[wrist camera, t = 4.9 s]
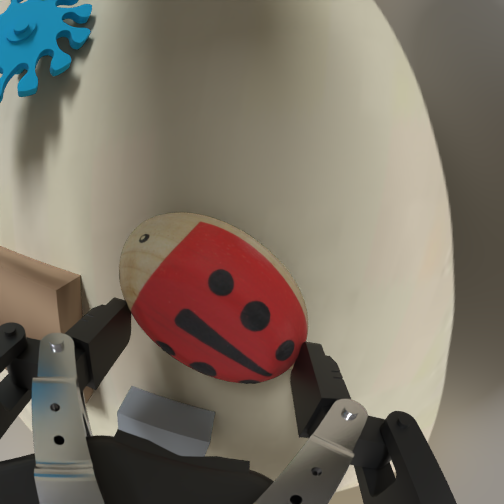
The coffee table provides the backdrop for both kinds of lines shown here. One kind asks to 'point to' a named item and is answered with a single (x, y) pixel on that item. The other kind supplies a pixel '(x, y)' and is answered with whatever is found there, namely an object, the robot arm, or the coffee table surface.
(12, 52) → the gear
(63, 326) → the walnut block
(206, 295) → the ladybug figurine
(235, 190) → the coffee table surface
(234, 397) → the coffee table surface
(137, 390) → the slate brick
